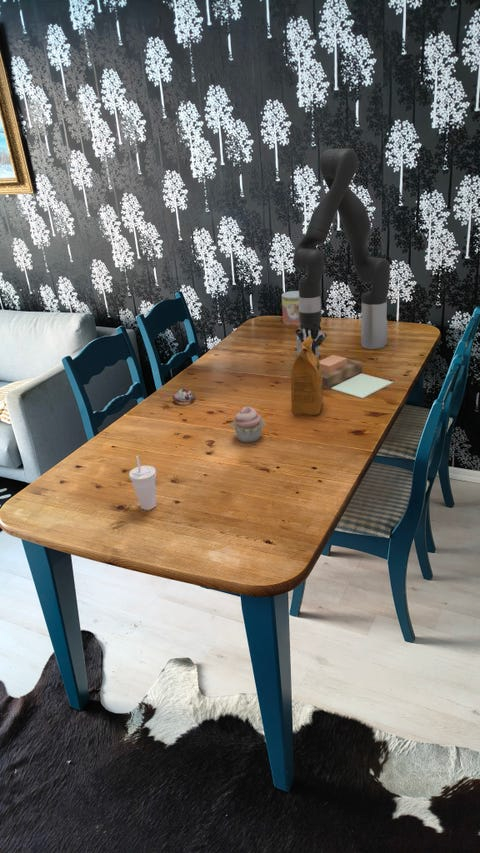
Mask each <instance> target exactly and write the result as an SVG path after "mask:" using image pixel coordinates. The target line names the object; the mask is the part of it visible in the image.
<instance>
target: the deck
mask: <svg viewBox="0 0 480 853" xmlns="http://www.w3.org/2000/svg"><path fill="white" fill-rule="evenodd" d="M361 373H362V374H363V362H362V361H357V360H355V359H350V358H347V364H346V365H344V366H342V367H340V368H338V369H336V370H333V371H331V372H327V371H323V370H322V376H323V390H327V391H328V390H331V388H332V387H334V386H336V385H338V384H340V383H342V382H344V381H346V380H348V379H351V378H353V377H355V376H357V375H359V374H361Z"/></svg>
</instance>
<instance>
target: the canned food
mask: <svg viewBox="0 0 480 853" xmlns="http://www.w3.org/2000/svg"><path fill="white" fill-rule="evenodd" d="M281 308H282V322H284V323H283V324H285V325H289V324H297V325H299V324H298V323H300V322H299V290H290V291H287V292H283V293H282V294H281Z"/></svg>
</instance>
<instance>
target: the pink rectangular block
mask: <svg viewBox="0 0 480 853" xmlns="http://www.w3.org/2000/svg"><path fill="white" fill-rule="evenodd" d="M347 359H348V358H346V357H344V356H339V355H334V354H331V355H329V356H327V357H325V358H322V359H320V360H318V361H319V362H320V365H321V369H322V370H323V371H327V372H331V371H333V370H336V369H338V368H340V367H342V366H344V365H346V364H347Z"/></svg>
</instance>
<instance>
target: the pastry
mask: <svg viewBox="0 0 480 853" xmlns="http://www.w3.org/2000/svg"><path fill="white" fill-rule="evenodd" d="M172 400H173V403H174V404H175V405H177V406H183V407H184V406H189V405H191V404H193V403H195V402H196V396H195V394H194V393H193V392H192V391H191V390H190V388H186V387H183V388H181V389H180V390H179V391H177V392H175V393H174V394H173V396H172Z"/></svg>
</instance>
